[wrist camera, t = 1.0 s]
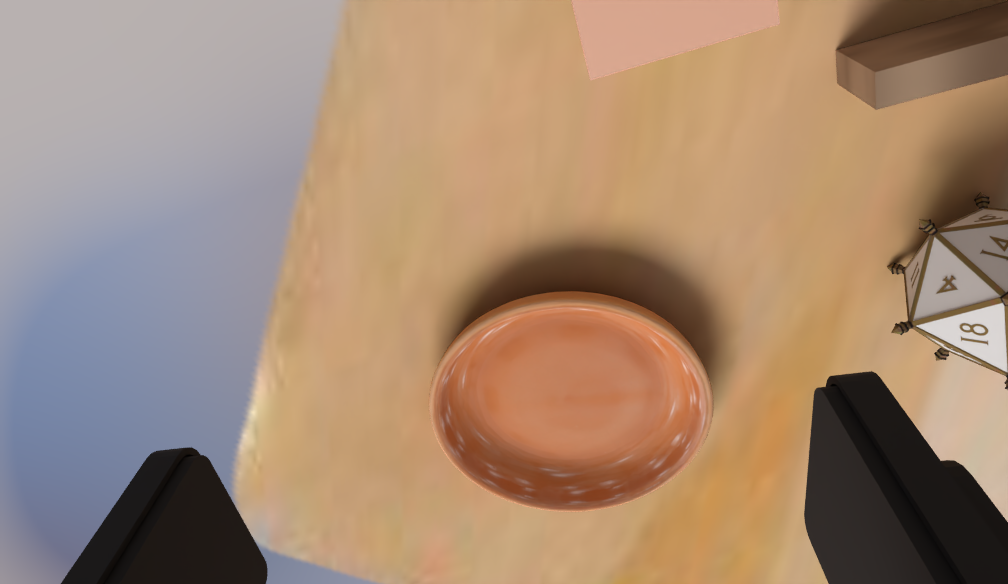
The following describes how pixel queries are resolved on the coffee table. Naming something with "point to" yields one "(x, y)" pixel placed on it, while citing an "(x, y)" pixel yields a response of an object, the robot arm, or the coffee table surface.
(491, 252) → the coffee table surface
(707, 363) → the coffee table surface
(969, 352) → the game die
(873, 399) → the robot arm
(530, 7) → the coffee table surface
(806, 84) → the coffee table surface
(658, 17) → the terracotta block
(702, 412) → the saucer
